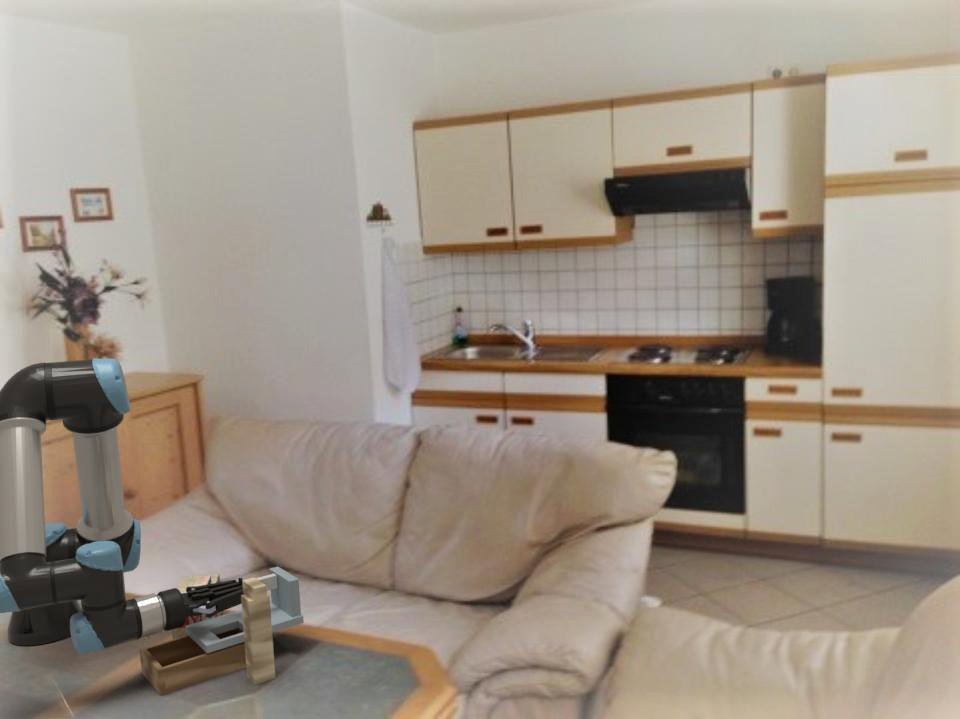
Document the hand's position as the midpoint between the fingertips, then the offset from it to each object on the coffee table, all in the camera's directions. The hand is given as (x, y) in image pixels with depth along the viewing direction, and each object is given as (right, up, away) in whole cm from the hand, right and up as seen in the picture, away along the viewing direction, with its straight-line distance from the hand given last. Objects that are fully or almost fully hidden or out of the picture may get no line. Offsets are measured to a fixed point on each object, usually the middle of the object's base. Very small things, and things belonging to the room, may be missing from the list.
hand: (275, 580), depth 176 cm
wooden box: (-12, -15, -10) cm, 22 cm away
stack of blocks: (-18, -14, +8) cm, 25 cm away
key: (+1, -15, -15) cm, 21 cm away
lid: (-5, -8, -5) cm, 11 cm away
